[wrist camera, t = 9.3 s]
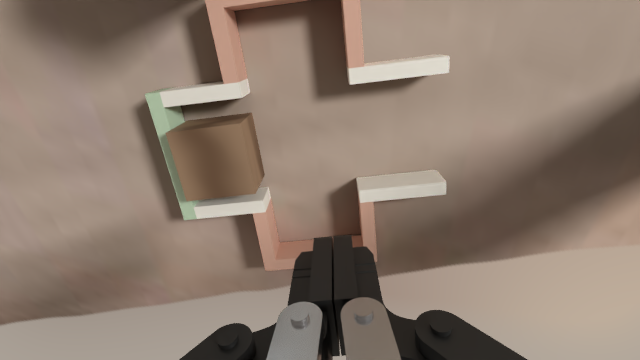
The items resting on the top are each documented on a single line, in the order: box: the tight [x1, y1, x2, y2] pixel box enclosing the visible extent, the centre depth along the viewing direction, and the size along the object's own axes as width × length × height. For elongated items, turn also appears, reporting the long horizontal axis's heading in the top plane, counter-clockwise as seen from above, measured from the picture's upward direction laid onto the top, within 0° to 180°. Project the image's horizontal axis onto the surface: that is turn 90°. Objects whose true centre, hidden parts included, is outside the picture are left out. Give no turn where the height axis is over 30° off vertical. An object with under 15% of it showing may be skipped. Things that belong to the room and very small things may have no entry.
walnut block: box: [166, 113, 265, 201], centre depth 29 cm, size 6×6×4 cm
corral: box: [145, 0, 449, 271], centre depth 29 cm, size 24×24×3 cm
